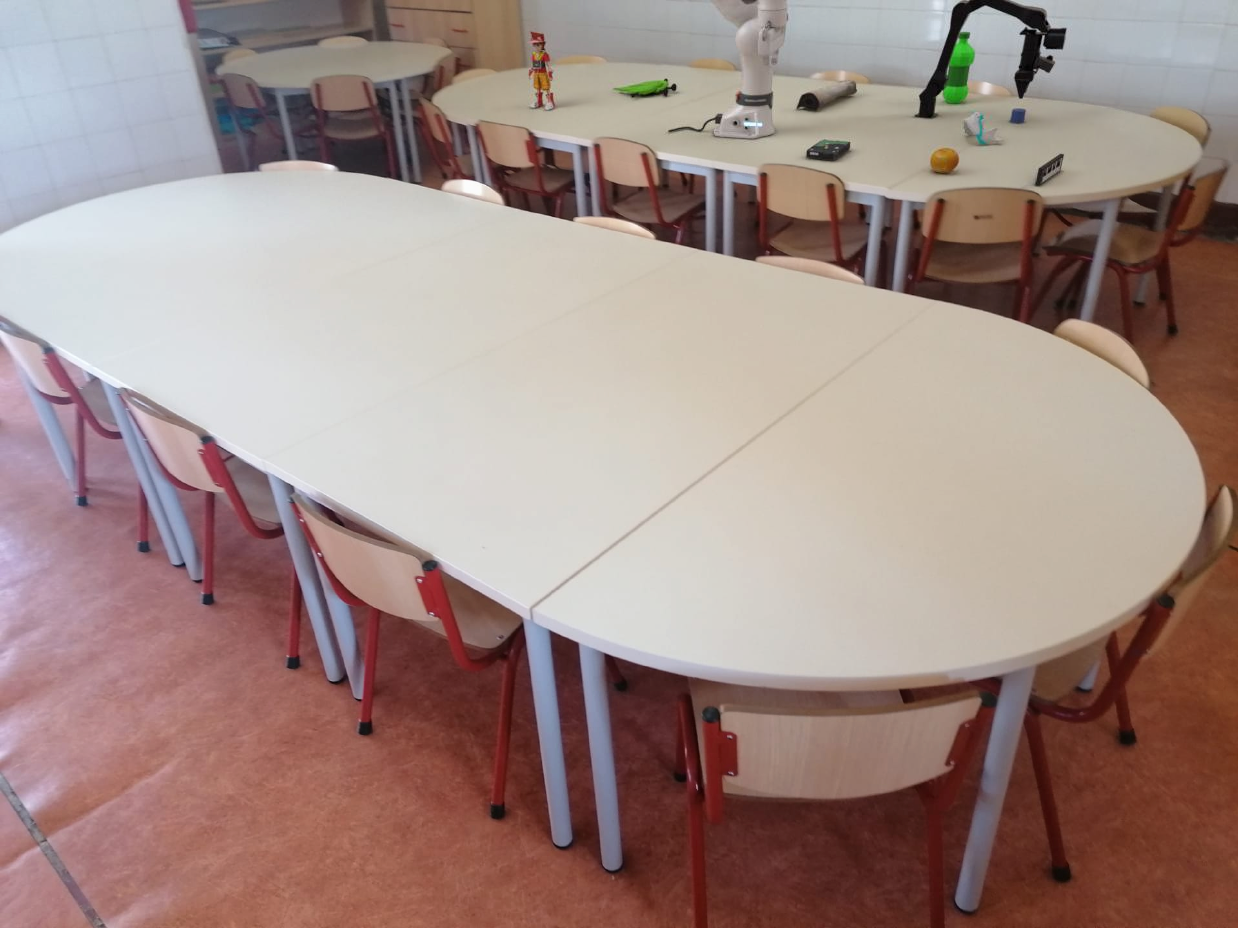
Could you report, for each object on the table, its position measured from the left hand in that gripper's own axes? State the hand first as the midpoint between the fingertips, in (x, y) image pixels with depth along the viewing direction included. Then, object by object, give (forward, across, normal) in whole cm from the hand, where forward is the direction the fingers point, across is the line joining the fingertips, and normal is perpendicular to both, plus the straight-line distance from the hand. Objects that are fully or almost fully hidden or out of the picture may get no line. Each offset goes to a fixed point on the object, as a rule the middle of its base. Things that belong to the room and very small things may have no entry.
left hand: (770, 67), depth 282 cm
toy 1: (+30, +61, +113) cm, 132 cm away
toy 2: (+31, +94, +80) cm, 127 cm away
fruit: (+31, +5, -56) cm, 64 cm away
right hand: (+22, +70, -76) cm, 106 cm away
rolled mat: (+31, +87, -4) cm, 93 cm away
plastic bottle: (+31, +96, -52) cm, 113 cm away
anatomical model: (+31, +43, -64) cm, 83 cm away
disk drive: (+31, +17, -17) cm, 39 cm away
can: (+31, +70, -76) cm, 108 cm away
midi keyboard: (+31, +5, -87) cm, 92 cm away
